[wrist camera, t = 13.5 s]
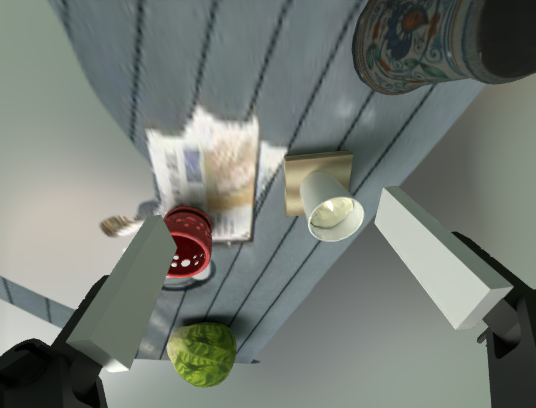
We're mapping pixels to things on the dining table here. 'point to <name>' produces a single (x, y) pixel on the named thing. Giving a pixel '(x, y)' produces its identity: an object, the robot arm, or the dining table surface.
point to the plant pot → (189, 240)
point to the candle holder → (329, 207)
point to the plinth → (306, 165)
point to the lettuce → (202, 353)
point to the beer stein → (443, 42)
